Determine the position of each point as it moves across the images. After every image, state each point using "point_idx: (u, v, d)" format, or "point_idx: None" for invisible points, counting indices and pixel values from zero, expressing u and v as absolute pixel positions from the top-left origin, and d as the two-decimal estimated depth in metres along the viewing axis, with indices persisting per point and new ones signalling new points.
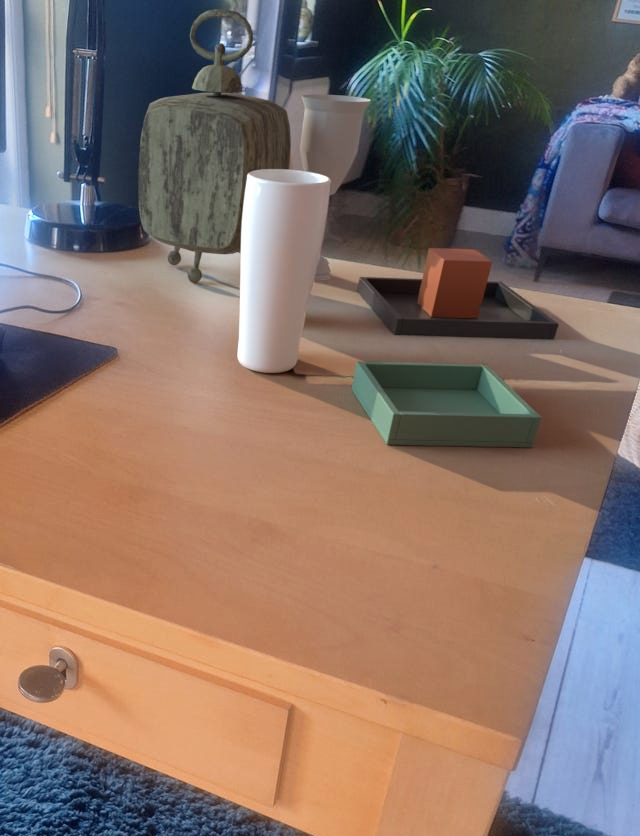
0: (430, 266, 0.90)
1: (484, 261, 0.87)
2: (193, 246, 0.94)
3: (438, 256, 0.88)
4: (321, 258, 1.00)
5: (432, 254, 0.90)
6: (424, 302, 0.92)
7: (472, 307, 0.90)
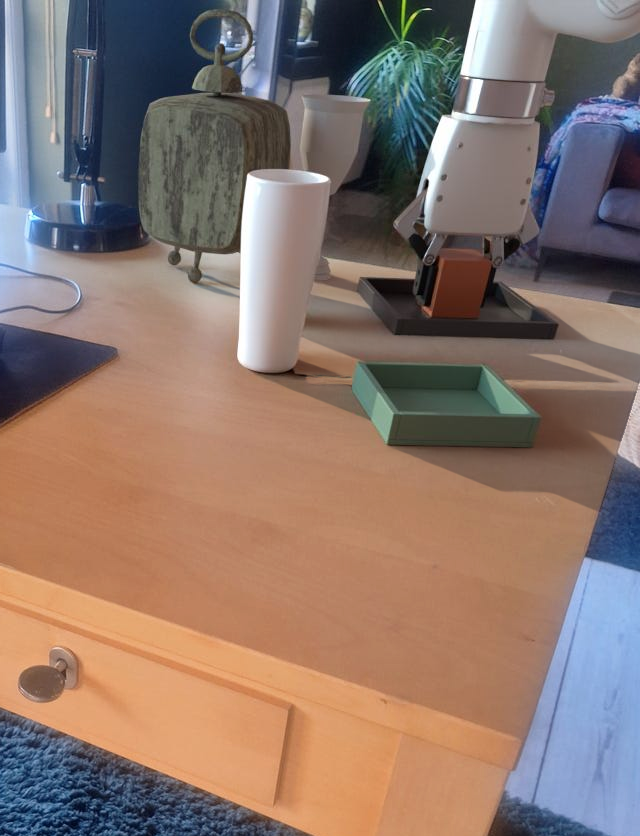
0: None
1: (484, 261, 0.87)
2: (193, 246, 0.94)
3: (438, 256, 0.88)
4: (321, 258, 1.00)
5: None
6: None
7: (472, 307, 0.90)
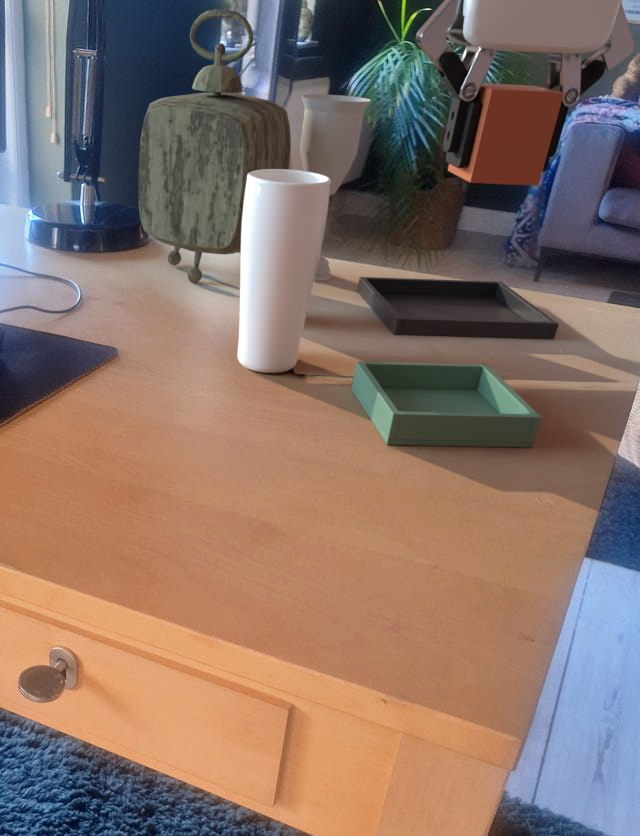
0: None
1: (552, 92, 0.58)
2: (193, 246, 0.94)
3: (482, 88, 0.59)
4: (321, 258, 1.00)
5: None
6: None
7: (531, 168, 0.61)
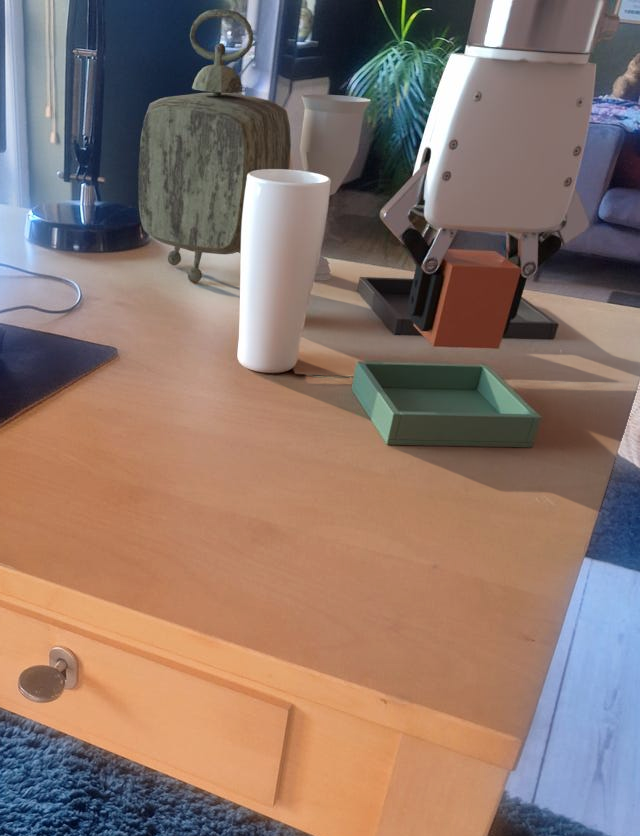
0: None
1: (510, 268, 0.61)
2: (193, 246, 0.94)
3: (444, 260, 0.62)
4: (321, 258, 1.00)
5: None
6: None
7: (491, 333, 0.63)
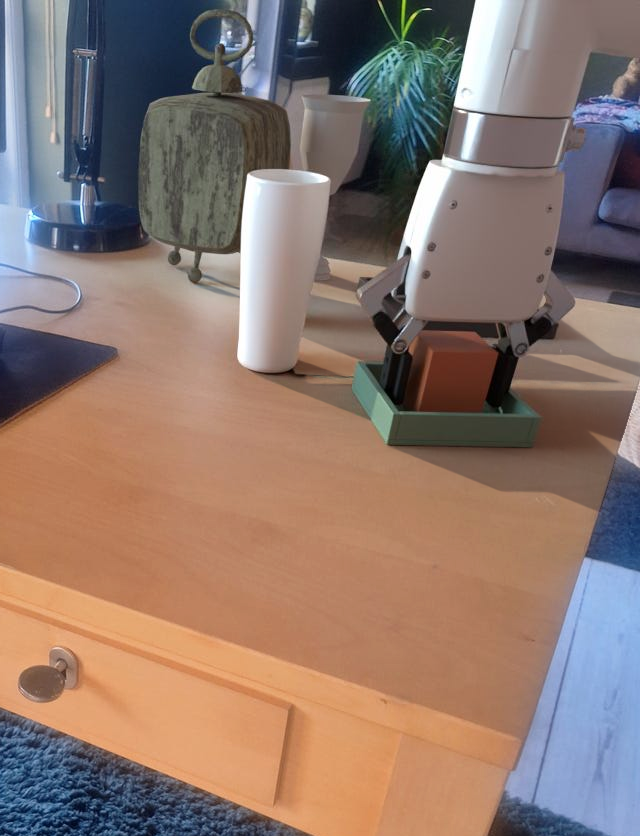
0: (414, 355, 0.67)
1: (487, 352, 0.64)
2: (193, 246, 0.94)
3: (425, 344, 0.65)
4: (321, 258, 1.00)
5: (418, 340, 0.67)
6: (408, 401, 0.69)
7: (471, 411, 0.67)
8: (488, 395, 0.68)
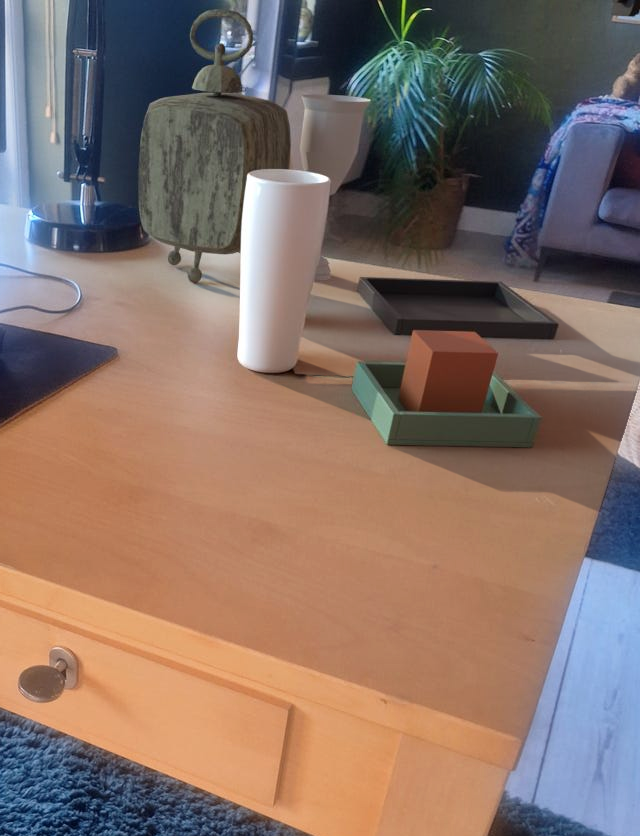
0: (414, 355, 0.67)
1: (487, 352, 0.64)
2: (193, 246, 0.94)
3: (425, 344, 0.65)
4: (321, 258, 1.00)
5: (418, 340, 0.67)
6: (408, 401, 0.69)
7: (471, 411, 0.67)
8: None
